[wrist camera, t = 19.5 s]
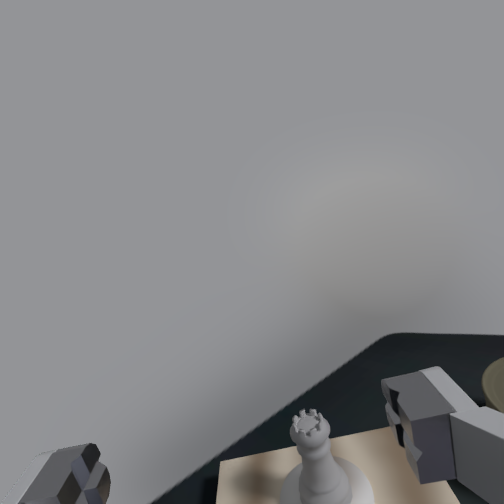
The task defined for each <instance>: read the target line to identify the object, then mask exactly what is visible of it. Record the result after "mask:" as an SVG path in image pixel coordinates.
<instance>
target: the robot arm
mask: <svg viewBox="0 0 504 504" xmlns="http://www.w3.org/2000/svg"><path fill="white" fill-rule="evenodd" d="M381 385H382V392H383V394H384V396H385V398H386V399H387V401H388V402H387V404H386V406H385V408H386V413H387V418H388V421H389V424H390V427H391V430H392V432H393V435H394V437H395V439H396V441H397V443H398V444H399V445H400V446H401V447H403V448H405V452H406V458H407V461H408V463H409V465H410V467H411V468H412V470H413V472H414V474H415V476H416V478H417V479H418V481H419V483H420V485H421V484H427V483H433V482H439V481H445V480H451V479H457V480H458V481H459V482H460V483H462V484H463V485H465V486H466V487H467V488H469V489H470V490H472V491H473V492H474V493H476V494H477V495H478V496H480V497H481V498H483V499H484V500H485V501H487V502H488V503H489V504H504V414H503V413H501V412H498V411H496V410H493V409H491V408H488V407H486V406H485V407H480V408H479V407H478V406H477V405H476V404H475V403H474V402H473V401H472V399H471V398H470V397H469V396H468V395H467V394H466V393H465V392H464V391H463V390H462V389H461V388H460V387H459V386H458V385H457V384H456V383H455V382H454V381H453V380H452V379H451V378H450V377H449V376H448V375H447V374H446V373H445V372H444V371H443V370H442V369H441V368H440V367H437V366H436V367H432V368H428V369H424V370H420V371H418V372H414V373H409V374H405V375H400V376H396V377H391V378H387V379H382V380H381ZM99 457H100V451H99V449H98V448H97V446H96V444H92V443H89V444H84V445H78V446H73V447H68V448H63V449H58V450H54V451H49V452H44V453H41V454H39V455H38V456H36V457H35V458H34V459H33V461H32V462H31V463H30V465H29V466H28V468H27V469H26V470H25V472H24V473H23V474H22V475H21V477H20V478H19V480H18V481H17V482H16V484H15V485H14V486H13V488H12V489H11V490H10V492H9V493H8V494H7V496H6V497H5V498H4V500H3V501H2V502H1V504H106V501H107V499H108V497H109V492H110V484H111V481H110V475H109V472H108V469H107V467H106V466H105V465H103V464H102V463H100V462H99V461H98V460H99Z"/></svg>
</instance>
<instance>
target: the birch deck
mask: <svg viewBox="0 0 504 504" xmlns="http://www.w3.org/2000/svg"><path fill="white" fill-rule="evenodd" d="M330 441H331V448H330V452H331V454H332V457H333V459H334V461H335V462H337V463H338V465H339V466H340V467H342V469H343V470H344V472H345V473H346V475H347V477H348V479H349V484H350V485H351V488H352V496H353V497H352V500H351V504H460V503H459V501H458V499H457V498H456V496H455V495H454V493H453V491H452V490H451V488H450V486H449V485H448V483H447V482H446V480H445V481H439V482H433V483H427V484H421V485H420V483H419V481H418V479H417V478H416V476H415V474H414V472H413V470H412V468H411V467H410V465H409V463H408V461H407V458H406V452H405V448H403V447H401V446H400V445H399V444H398V443H397V441H396V439H395V437H394V435H393V432H392V430H391V427H386V428H381V429H376V430H372V431H367V432H362V433H357V434H352V435H347V436H343V437H338V438H333V439H330ZM302 468H303V466H302V457H301V455H299V453H298V451H297V446H294V447H289V448H285V449H280V450H275V451H270V452H265V453H260V454H256V455H251V456H246V457H241V458H236V459H231V460H226V461H222V462H220V472H219V481H218V490H217V499H216V504H302V502H301V500H300V492H299V477H300V475H301V471H302Z"/></svg>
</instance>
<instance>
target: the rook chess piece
mask: <svg viewBox="0 0 504 504" xmlns="http://www.w3.org/2000/svg"><path fill="white" fill-rule="evenodd" d="M299 414H300V416H299V417H298V416H296V415H294V417H293V418H292V421H293V424H292V426H291V428H290V436H291V438H292V440H293V441H294V442H295V443H296V444H297V451H298V453H299V455H301V457H302V466H303V468H302V471H301V475H300V477H299V492H300V500H301V502H302V504H351V500H352V497H353V496H352V488H351V485H350V484H349V479H348V477H347V475H346V473H345V472H344V470H343V469H342V467H340V466H339V465H338V463H337V462H335V461H334V459H333V457H332V454H331V452H330V448H331V441H330V439H329V438H328V435H329V433H330V425H329V424H328V422H327V420H325V419H324V418H323V416H322V415H321V413H318V414H317V413H316V410H315V409H310V413H307V414H305V410H304V409H303V410H301V411H299Z"/></svg>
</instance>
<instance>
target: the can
mask: <svg viewBox="0 0 504 504" xmlns="http://www.w3.org/2000/svg"><path fill="white" fill-rule="evenodd" d="M482 390H483V393H484V396H485V401H486V407H488V408H491V409H493V410H496V411H498V412H501V413H503V414H504V357H503V358H501V359H498V360H497V361H495V362H493V363H492V364H490V365H489V366H488V367H487V368H486V370H485V371H484V373H483V376H482Z"/></svg>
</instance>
